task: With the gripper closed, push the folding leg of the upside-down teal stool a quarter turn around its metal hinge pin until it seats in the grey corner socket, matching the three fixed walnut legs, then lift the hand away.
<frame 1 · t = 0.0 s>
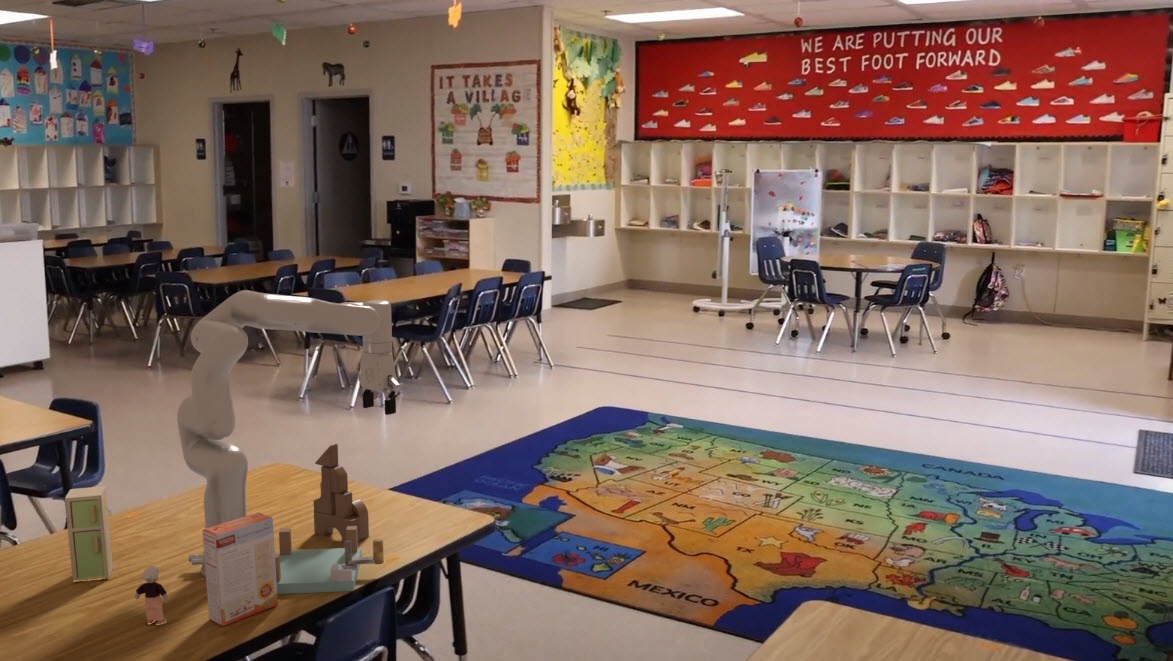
hand: (379, 410, 282), 31 cm above the table, tool pointing down, fingers open, 9 cm apart
cracker box: (243, 613, 232), on the table
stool: (315, 574, 253), on the table
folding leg: (364, 552, 252), point 6 cm above the table, hinge at 90.0°
grandmother figurine: (154, 623, 227), on the table
toy refrigerator: (92, 577, 250), on the table
wooden toy: (340, 535, 278), on the table
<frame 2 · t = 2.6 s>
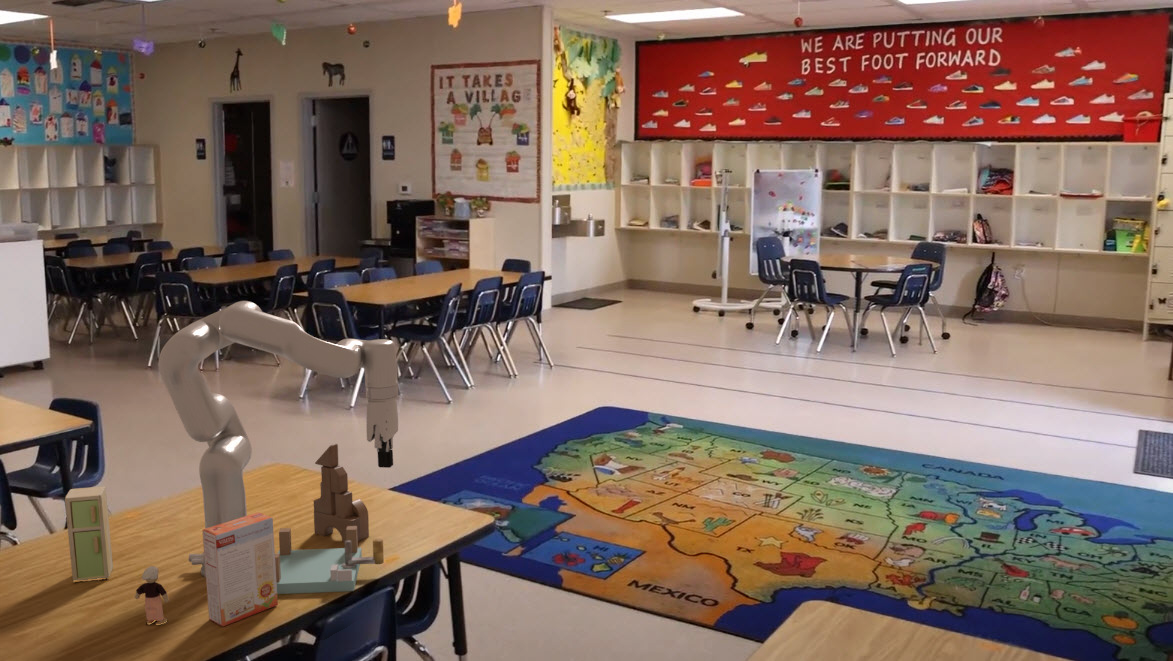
hand: (385, 466, 254), 25 cm above the table, tool pointing down, fingers closed
nothing on the table moved.
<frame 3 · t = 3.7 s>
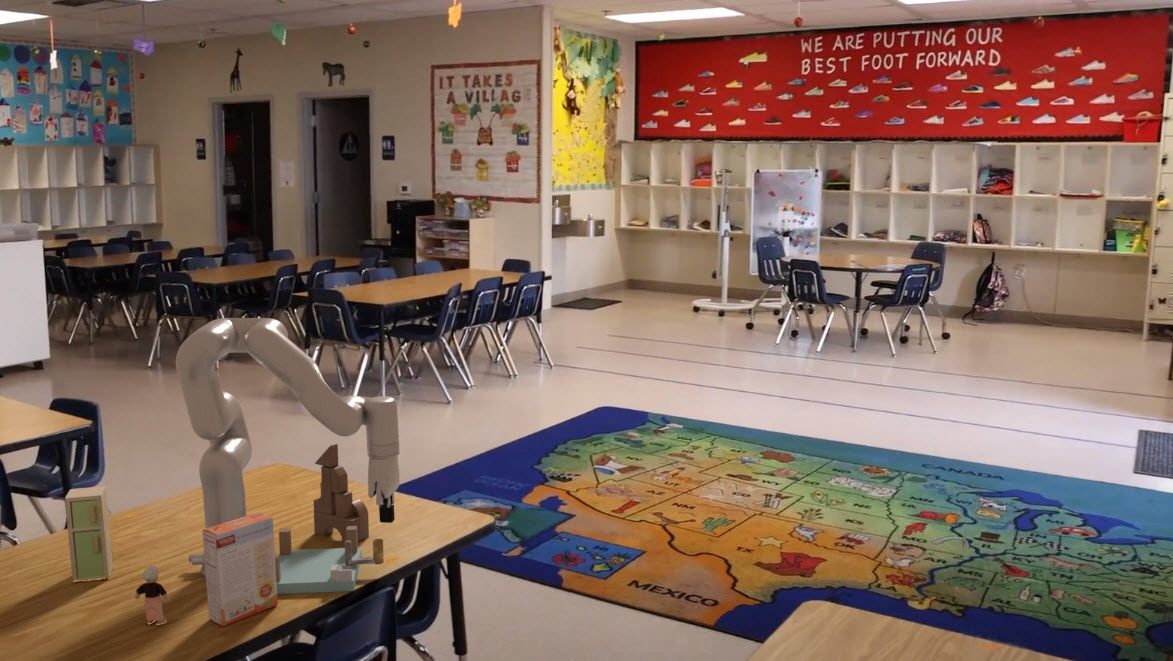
hand: (387, 521, 256), 11 cm above the table, tool pointing down, fingers closed
nothing on the table moved.
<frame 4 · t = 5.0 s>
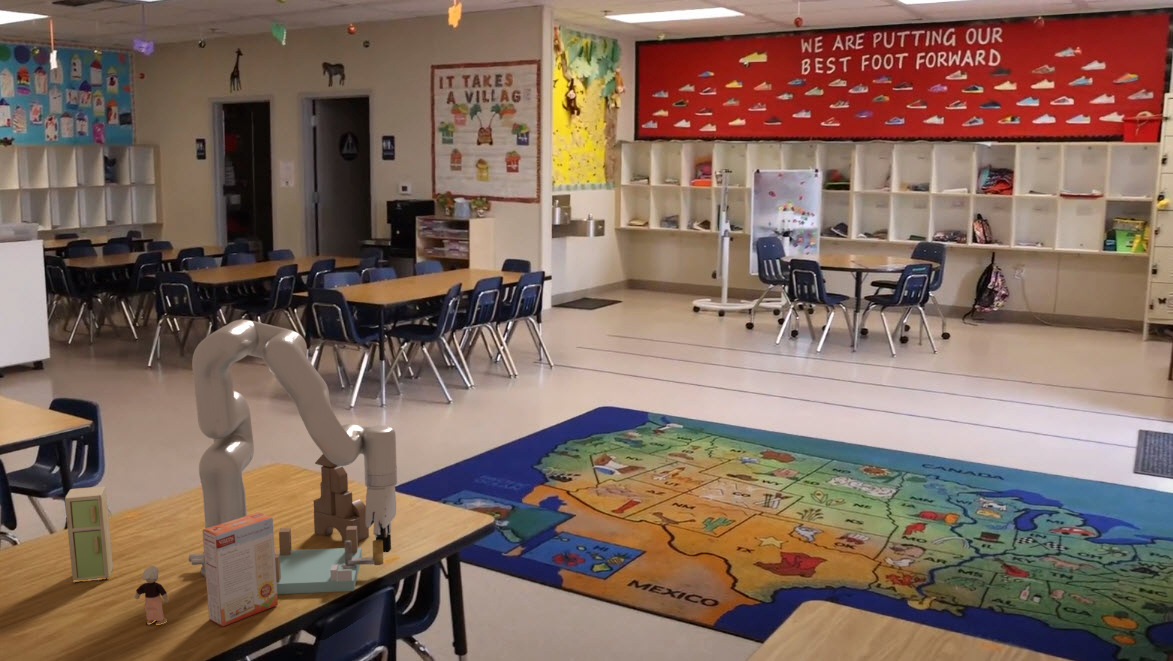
hand: (383, 550, 255), 5 cm above the table, tool pointing down, fingers closed
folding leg: (364, 552, 252), point 6 cm above the table, hinge at 85.6°, touching gripper
everything else where it was.
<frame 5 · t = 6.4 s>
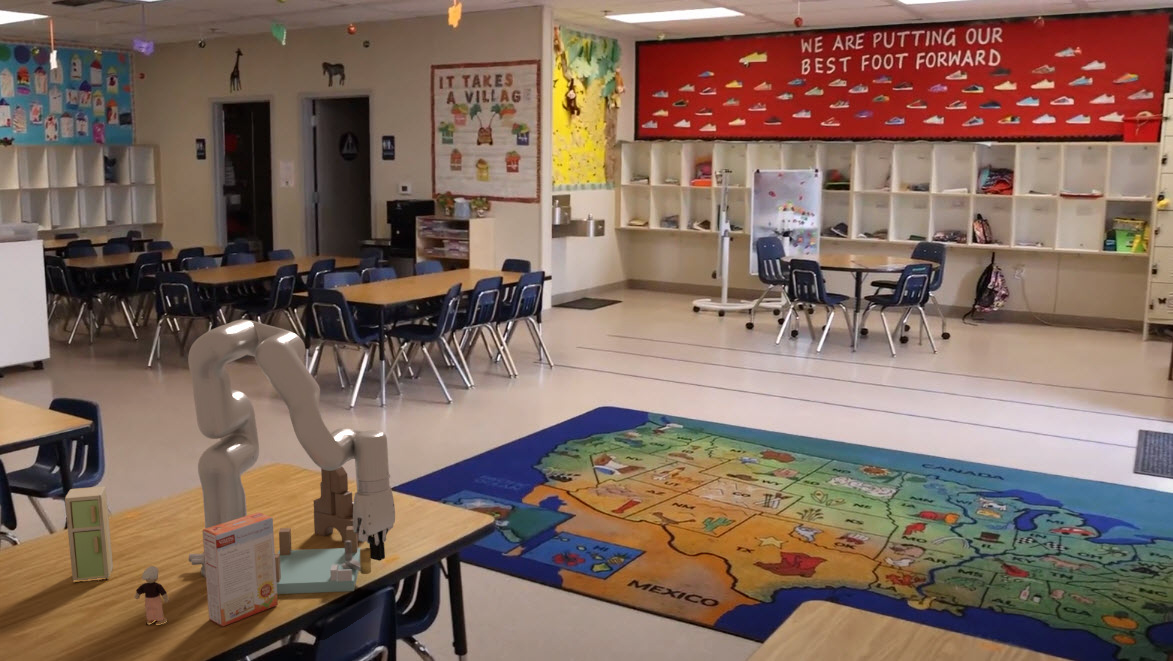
hand: (377, 558, 249), 5 cm above the table, tool pointing down, fingers closed
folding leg: (357, 556, 249), point 6 cm above the table, hinge at 39.5°, touching gripper
everything else where it was.
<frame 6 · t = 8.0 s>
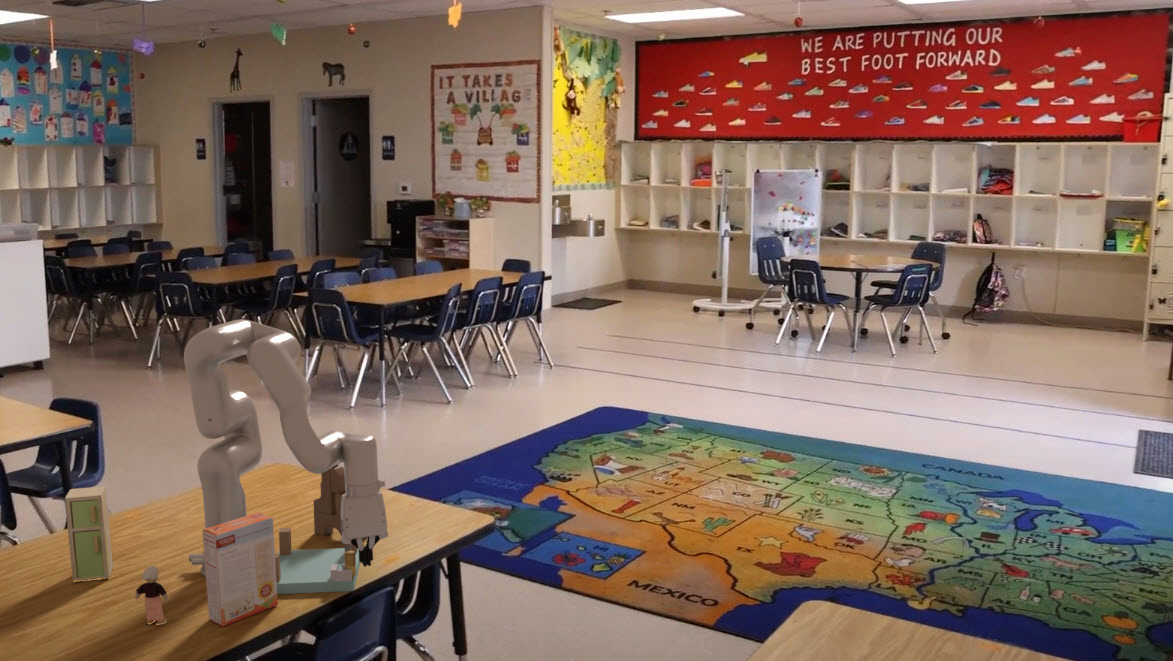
hand: (366, 564, 246), 5 cm above the table, tool pointing down, fingers closed
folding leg: (349, 558, 248), point 6 cm above the table, hinge at 9.6°, touching gripper
everything else where it was.
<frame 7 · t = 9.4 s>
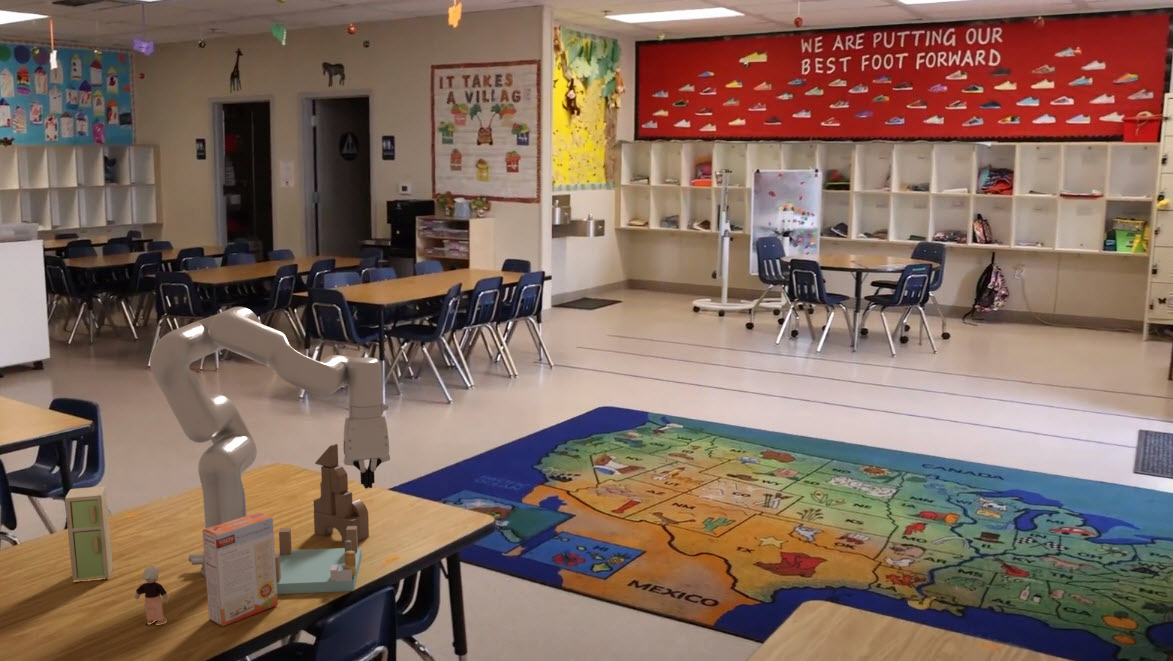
hand: (367, 486, 249), 22 cm above the table, tool pointing down, fingers closed
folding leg: (349, 558, 248), point 6 cm above the table, hinge at 9.5°
everything else where it was.
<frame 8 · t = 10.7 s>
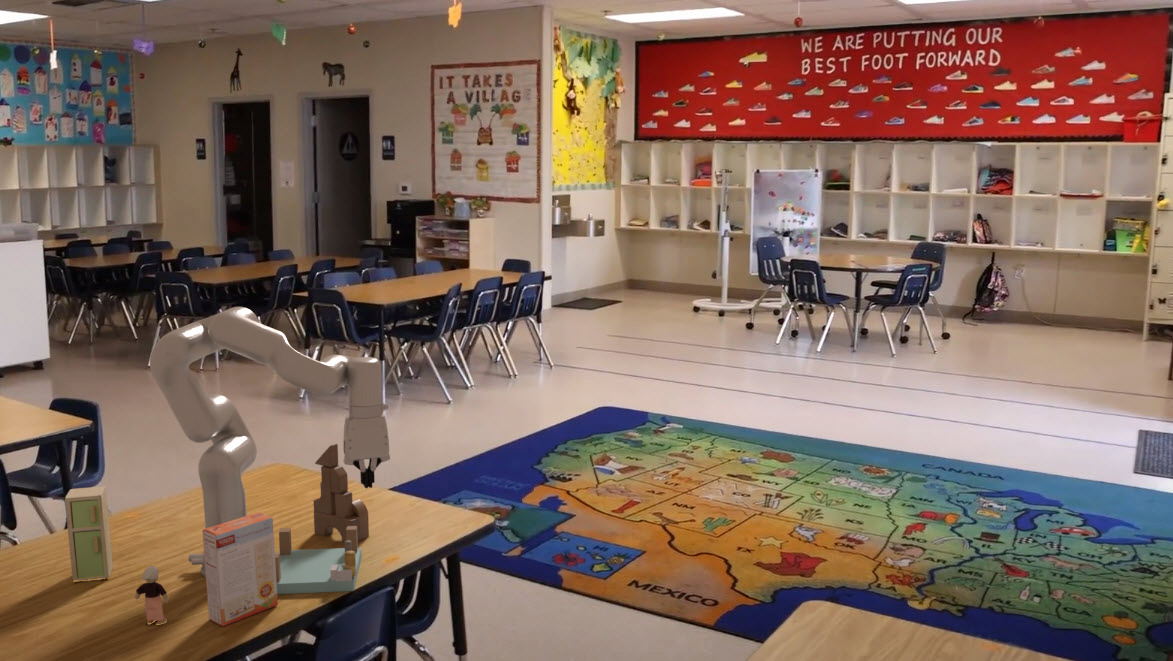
hand: (367, 486, 249), 22 cm above the table, tool pointing down, fingers closed
nothing on the table moved.
at the end: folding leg at +10° (first picture: +90°) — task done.
